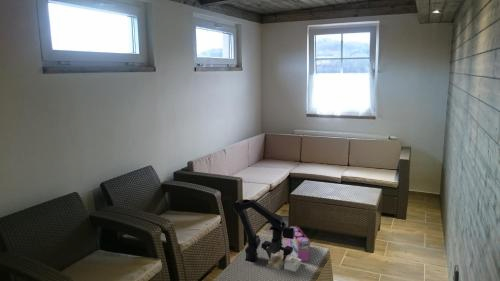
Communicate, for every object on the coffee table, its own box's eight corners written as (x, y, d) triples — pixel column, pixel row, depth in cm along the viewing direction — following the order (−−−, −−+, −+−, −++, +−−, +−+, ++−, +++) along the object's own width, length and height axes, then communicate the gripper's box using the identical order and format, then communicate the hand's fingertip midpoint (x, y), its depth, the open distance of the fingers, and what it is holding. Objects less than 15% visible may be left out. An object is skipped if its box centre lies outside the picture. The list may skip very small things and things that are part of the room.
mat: (265, 266, 225) (265, 266, 225) (274, 257, 236) (274, 256, 236) (279, 270, 221) (279, 269, 221) (287, 260, 232) (287, 259, 232)
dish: (284, 269, 222) (284, 263, 221) (290, 261, 231) (290, 256, 230) (295, 272, 219) (295, 266, 218) (301, 264, 228) (301, 259, 227)
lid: (268, 265, 225) (268, 261, 225) (275, 257, 235) (275, 253, 234) (278, 268, 222) (278, 263, 222) (285, 260, 232) (285, 255, 231)
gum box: (285, 244, 253) (285, 225, 250) (296, 243, 255) (296, 224, 252) (297, 262, 230) (298, 241, 227) (309, 260, 232) (310, 240, 229)
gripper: (257, 238, 222) (257, 262, 225) (286, 245, 214) (285, 270, 217) (265, 231, 232) (265, 254, 235) (293, 237, 223) (293, 261, 227)
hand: (276, 260), depth 228 cm, fingers open, 9 cm apart
